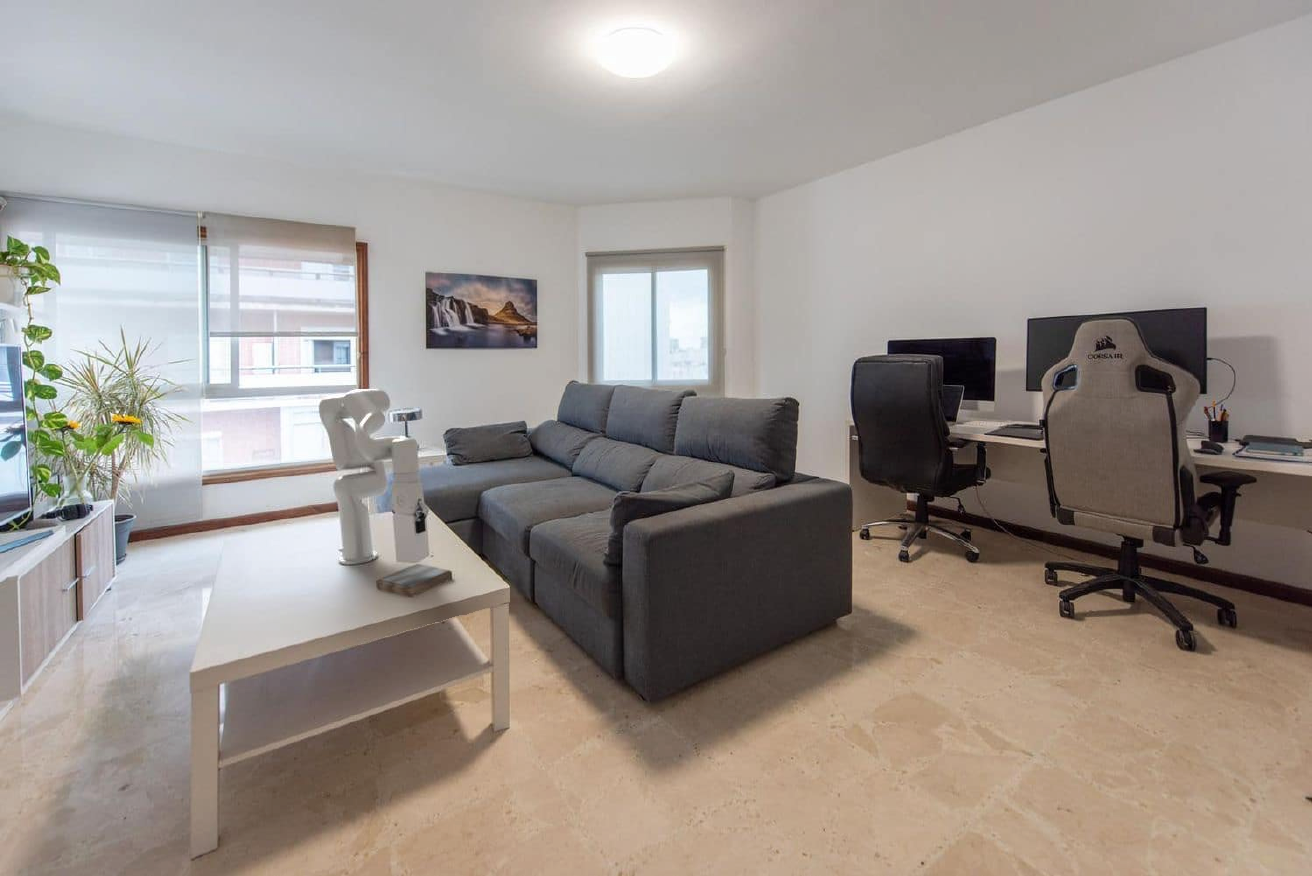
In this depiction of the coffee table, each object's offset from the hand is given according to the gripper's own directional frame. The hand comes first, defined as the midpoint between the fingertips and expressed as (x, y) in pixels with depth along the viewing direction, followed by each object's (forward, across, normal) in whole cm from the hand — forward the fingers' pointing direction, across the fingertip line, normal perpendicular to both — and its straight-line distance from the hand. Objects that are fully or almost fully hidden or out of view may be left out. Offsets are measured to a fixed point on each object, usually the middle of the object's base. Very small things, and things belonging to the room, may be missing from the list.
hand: (411, 530), depth 181 cm
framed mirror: (+18, 0, 0) cm, 18 cm away
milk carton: (+10, 0, 0) cm, 10 cm away
